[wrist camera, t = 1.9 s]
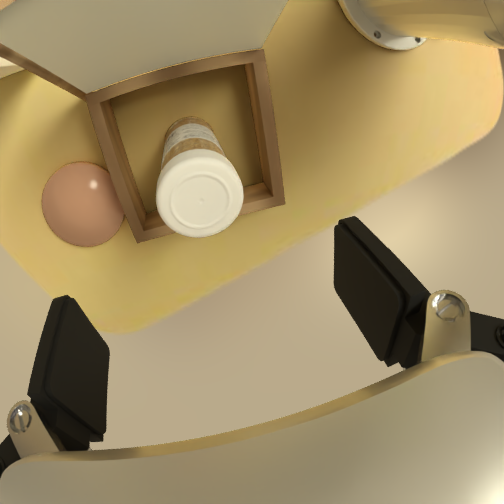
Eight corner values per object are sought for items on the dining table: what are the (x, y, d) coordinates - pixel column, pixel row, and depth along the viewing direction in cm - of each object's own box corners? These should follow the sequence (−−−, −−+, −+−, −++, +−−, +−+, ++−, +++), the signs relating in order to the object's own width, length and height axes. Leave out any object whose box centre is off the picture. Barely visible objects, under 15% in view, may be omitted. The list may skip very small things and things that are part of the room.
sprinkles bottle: (192, 172, 28) (205, 254, 17) (154, 144, 25) (137, 211, 14) (225, 136, 26) (263, 195, 16) (187, 105, 24) (195, 139, 13)
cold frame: (244, 0, 19) (305, -49, 8) (274, 189, 30) (333, 273, 20) (72, 46, 18) (-12, 41, 7) (130, 227, 29) (112, 331, 18)
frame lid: (261, 48, 19) (258, 37, 19) (330, -66, 6) (322, -80, 5) (86, 93, 18) (84, 82, 18) (-26, 29, 5) (-23, 11, 4)
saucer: (107, 148, 24) (106, 150, 24) (137, 229, 29) (136, 232, 29) (31, 180, 23) (28, 182, 23) (65, 252, 29) (64, 255, 28)
